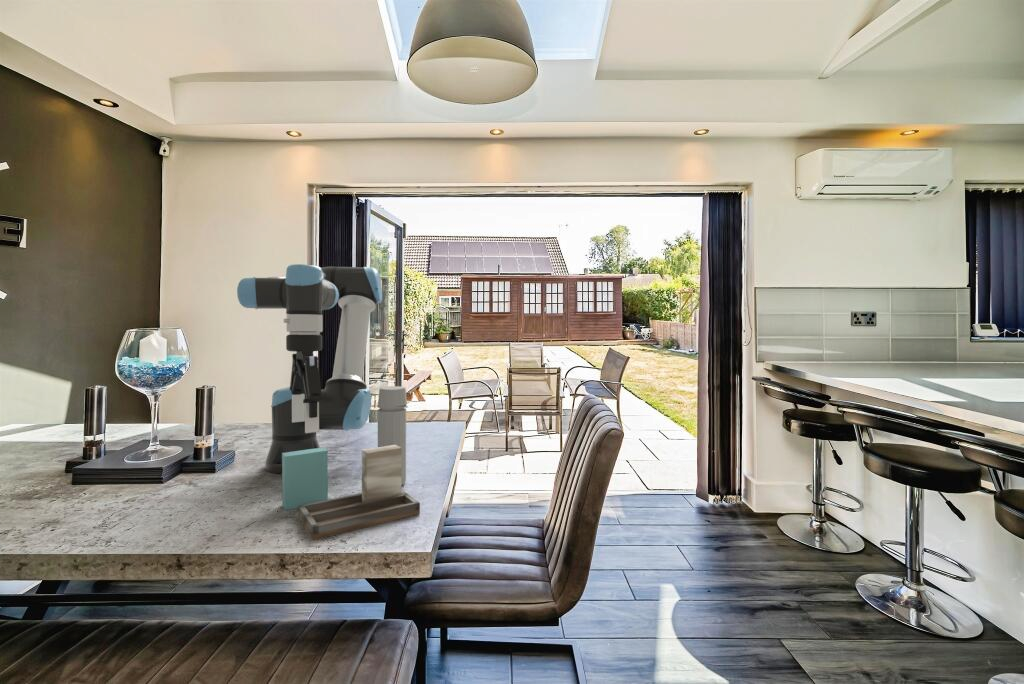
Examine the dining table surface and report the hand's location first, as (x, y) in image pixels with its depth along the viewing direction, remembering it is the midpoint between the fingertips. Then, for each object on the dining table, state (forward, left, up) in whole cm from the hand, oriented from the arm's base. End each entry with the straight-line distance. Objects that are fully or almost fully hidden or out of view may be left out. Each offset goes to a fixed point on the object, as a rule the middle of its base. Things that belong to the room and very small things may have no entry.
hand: (304, 426), depth 107 cm
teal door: (0, 0, -18) cm, 18 cm away
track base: (+14, +8, -18) cm, 24 cm away
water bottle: (-2, +22, -18) cm, 29 cm away
